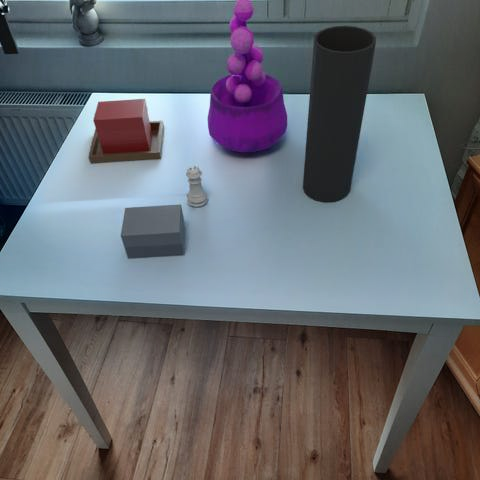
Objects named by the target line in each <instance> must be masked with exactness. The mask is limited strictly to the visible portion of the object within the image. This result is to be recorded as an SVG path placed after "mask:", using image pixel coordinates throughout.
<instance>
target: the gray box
mask: <svg viewBox="0 0 480 480" xmlns="http://www.w3.org/2000/svg"><path fill="white" fill-rule="evenodd" d="M120 238H121V242H122V244H123V247H124V250H125V253H126V257H127V259H128V260H130V259H144V258H161V257H177V256H185V247H186V246H185V243H186V223H185V219H184V212H183V207H182V204H181V203H179V204H165V205H151V206H150V205H149V206H134V207H124V213H123V218H122V225H121V231H120Z"/></svg>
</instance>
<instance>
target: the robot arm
mask: <svg viewBox="0 0 480 480" xmlns="http://www.w3.org/2000/svg"><path fill="white" fill-rule="evenodd" d="M10 13H11V10H10V7H9V5H7V0H0V46H1V49H2V51H3V54H4V55H18V54H20V49H19V47H18V44H17V42H16V38H15V35H14V33H13V29H12V27H11V24H10V22H9V19H8V17H7V14H10ZM1 88H2V85H1V83H0V89H1Z"/></svg>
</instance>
